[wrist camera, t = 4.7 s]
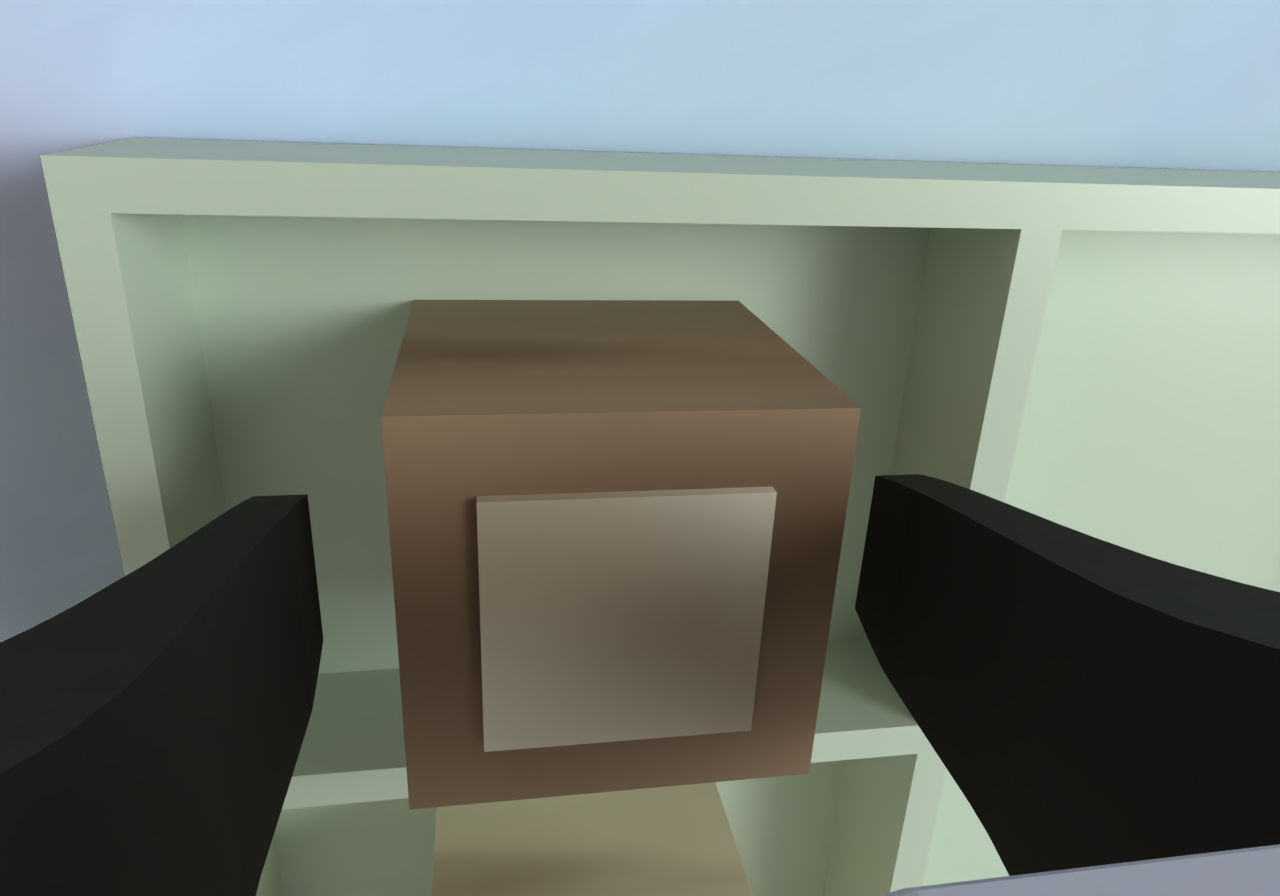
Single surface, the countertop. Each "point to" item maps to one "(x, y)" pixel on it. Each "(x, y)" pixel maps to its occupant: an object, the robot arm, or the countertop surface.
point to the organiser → (690, 271)
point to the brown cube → (609, 545)
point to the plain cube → (590, 846)
